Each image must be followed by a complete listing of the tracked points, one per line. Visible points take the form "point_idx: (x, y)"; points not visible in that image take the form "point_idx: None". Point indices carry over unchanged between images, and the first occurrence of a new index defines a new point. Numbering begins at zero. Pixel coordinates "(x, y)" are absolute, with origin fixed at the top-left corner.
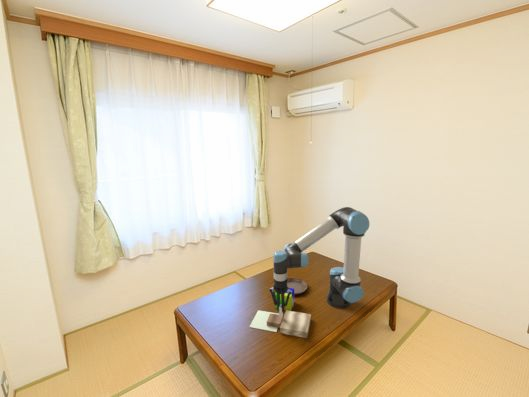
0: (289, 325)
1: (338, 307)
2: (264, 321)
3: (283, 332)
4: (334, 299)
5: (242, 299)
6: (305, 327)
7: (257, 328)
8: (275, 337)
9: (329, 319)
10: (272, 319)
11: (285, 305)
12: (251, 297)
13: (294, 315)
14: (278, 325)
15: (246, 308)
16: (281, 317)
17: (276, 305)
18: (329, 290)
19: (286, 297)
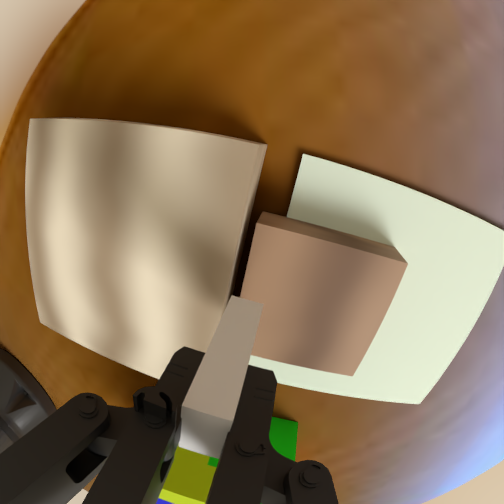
0: (149, 187)
1: (7, 354)
2: (406, 301)
3: (228, 136)
4: (3, 386)
5: (460, 449)
6: (37, 175)
7: (469, 214)
8: (310, 86)
9: (7, 291)
10: (343, 298)
11: (85, 412)
12: (415, 467)
13: (127, 330)
14: (279, 221)
15: (471, 406)
16: (234, 296)
17: (288, 440)
18: (23, 431)
19: (189, 487)
